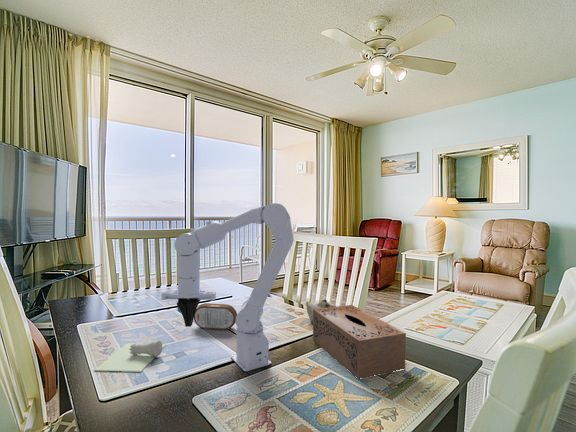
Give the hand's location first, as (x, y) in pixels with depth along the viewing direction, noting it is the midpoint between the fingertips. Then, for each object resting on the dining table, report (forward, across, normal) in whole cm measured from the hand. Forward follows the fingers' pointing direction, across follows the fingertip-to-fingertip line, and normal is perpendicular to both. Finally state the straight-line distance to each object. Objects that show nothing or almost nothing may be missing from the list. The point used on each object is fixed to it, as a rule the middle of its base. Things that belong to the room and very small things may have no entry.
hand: (189, 325), depth 89 cm
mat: (+9, +16, 0) cm, 18 cm away
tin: (+10, -2, -22) cm, 24 cm away
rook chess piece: (+7, +8, 0) cm, 11 cm away
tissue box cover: (+10, -47, -6) cm, 48 cm away
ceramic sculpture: (+10, -41, -31) cm, 52 cm away
